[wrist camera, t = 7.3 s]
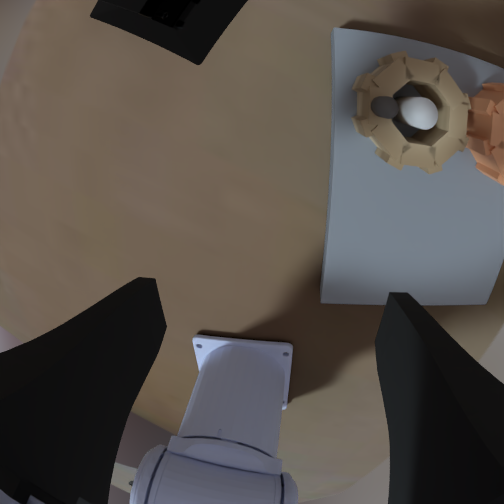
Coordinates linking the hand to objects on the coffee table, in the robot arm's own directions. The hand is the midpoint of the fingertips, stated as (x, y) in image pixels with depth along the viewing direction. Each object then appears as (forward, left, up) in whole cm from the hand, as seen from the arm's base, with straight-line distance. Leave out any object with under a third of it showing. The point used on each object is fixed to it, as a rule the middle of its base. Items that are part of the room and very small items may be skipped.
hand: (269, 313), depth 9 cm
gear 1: (+6, -6, -8) cm, 12 cm away
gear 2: (+6, -12, -8) cm, 16 cm away
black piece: (+13, +7, -11) cm, 18 cm away
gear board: (+2, -9, -10) cm, 14 cm away
